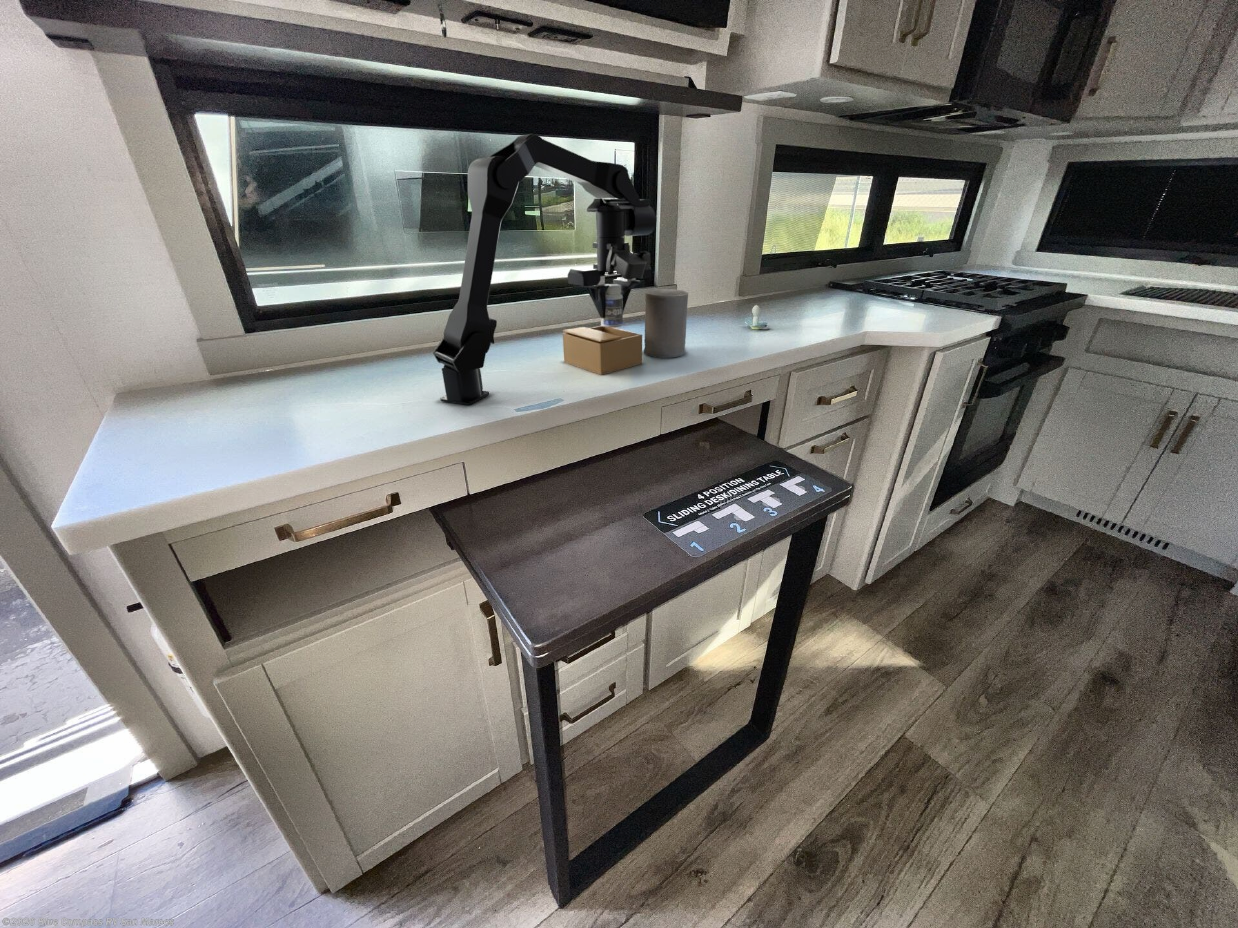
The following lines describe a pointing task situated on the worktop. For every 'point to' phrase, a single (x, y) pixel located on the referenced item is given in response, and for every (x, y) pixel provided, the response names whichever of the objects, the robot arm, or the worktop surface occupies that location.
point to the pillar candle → (665, 322)
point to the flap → (592, 334)
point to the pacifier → (756, 320)
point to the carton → (603, 351)
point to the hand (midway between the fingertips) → (611, 316)
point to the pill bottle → (613, 307)
